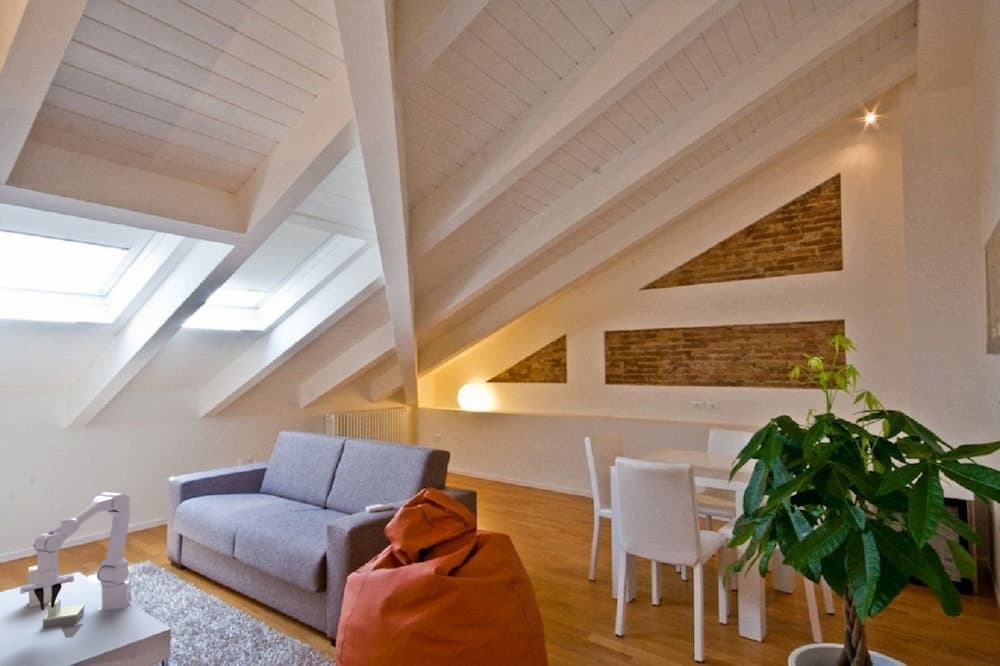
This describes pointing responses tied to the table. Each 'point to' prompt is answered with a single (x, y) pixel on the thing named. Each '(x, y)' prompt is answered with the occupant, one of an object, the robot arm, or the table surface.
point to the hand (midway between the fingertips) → (47, 607)
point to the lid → (62, 611)
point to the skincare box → (32, 597)
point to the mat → (70, 630)
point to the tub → (63, 620)
